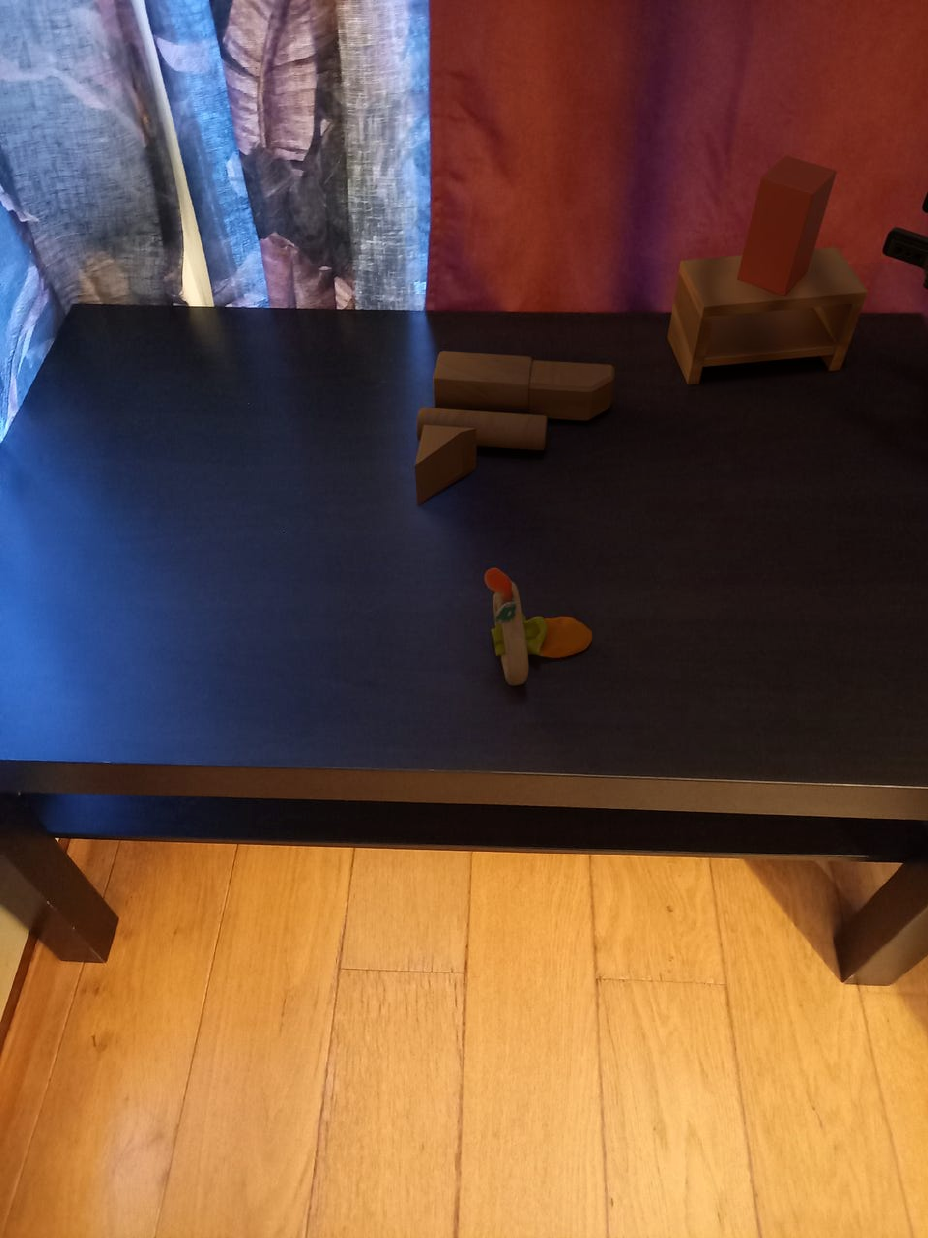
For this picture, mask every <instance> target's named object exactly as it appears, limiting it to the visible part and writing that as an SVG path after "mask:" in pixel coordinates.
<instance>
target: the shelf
mask: <svg viewBox="0 0 928 1238" xmlns="http://www.w3.org/2000/svg"><path fill="white" fill-rule="evenodd" d="M742 255H743V254H740V255H730V256H717V257H716V256H715V257H706V258H695V259H694V258H693V259H684V260H680V263H679V270H678V275H677V281H676V287H675V291H674V297H673V298H674V299H673V304H672V308H671V309H672V310H671V315H670V319H669V326H668V331H667V338H666V339H667V341H668V343H669V345H670V348H671V349H672V352H673V354H674V358H675V359H676V361H677V363H678V366H679V368H680V370H681V373H682V375H683V378H684V380H685V382H686V384H687V385H689V386H690V385H698V384H700V380H701V376H702V371H703V368H706V367H707V368H708V367H718V366H728V365H737V364H738V365H739V364H749V363H760V362H767V361H768V362H769V361H770V362H771V361H781V360H791V359H800V358H801V359H802V358H813V357H820V358H821V360H822V362H823V363H824V365H825V367H826V368H827V370H828V371H829V372H830V371H831V372H833V371H840V370H841V368H842V365H843V363H844V360H845V357H846V354H847V353H848V352H847V351H848V349H849V346H850V344H851V340H852V338H853V335H854V332H855V329H856V327H857V323H858V321H859V318H860V315H861V313H862V309H863V308H864V304H865V302H866V299H867V296H868V294H869V291H868V289H867V288H866V287H865V285H864V284H863V282H862V281H861V279H860V277H859V276H858V274H857V273H856V272H855V271H854V270H853V268H852V266H851V265H850V263H849V262H848V260H847V259H846V257H844V255H843V253H842V252H841V251H840V249H839V248H838V246H834V247H821V248H814V251H813V254H812V257H811V261H810V264H809V268H808V271H807V273H806V274H805V275H804V276H803V277H802V278H801V279H800V280H799V281H798V282H797V283H796V285H795V286H794V287H793V288H792V289H791V290H790V291H789V292H788V293H787V294H786V295H785V296H782V295H779V294H776V293H774V292H771V291H768V290H766V289H763V288H760V287H757V286H755V285H752V284H749V283H746V282H744V281H741V280H738V279H737V276H738V272H739V267H740V263H741V259H742Z"/></svg>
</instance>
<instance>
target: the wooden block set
mask: <svg viewBox="0 0 928 1238" xmlns="http://www.w3.org/2000/svg"><path fill="white" fill-rule="evenodd" d="M614 380H615V367H614V366H613V365H612V364H603V363H602V364H601V363H586V362H571V361H570V362H568V361H555V360H553V361H552V360H540V359H539V360H538V359H537V360H535V359H532V357H531V356H529V355H528V356H527V355H513V354H495V353H478V352H465V351H464V352H463V351H462V352H461V351H445V350H442V351H440V352H439V354H438V355H437V359H436V364H435V368H434V373H433V377H432V388H433V389H432V391H433V407H425V406H422V407H420V408H419V410H418V412H417V417H416V438H417V441H418V442H419V443H418V449H417V453H416V457H415V461H414V462H415V463H414V474H415V475H414V477H415V478H414V479H415V490H416V491H415V492H416V503H417V505H416V506H419V505H420V504H422V503H424V502H426V501H427V500H428V499H430V498H432V497H433V496H435V495H437V494H438V493H440V492H442V491H443V490H445V489H446V488H447V487H449V486H451V485H452V484H454V483H456V482H457V481H459V480H460V479H463V477H465V476H467V475H468V474H470V473H472V472H473V471H474V470H476V469H477V462H478V461H477V459H478V458H477V447H485V448H486V447H487V448H502V449H513V450H514V449H515V450H530V451H544V450H545V449H546V445H547V433H548V423H549V421H548V419H552V420H566V421H581V422H587V421H589V420H591V419H593V418H595V417H596V416H599V415H600V414H602V413H603V412H605V411H608V410H609V409H610V407H611V405H612V404H611V403H612V396H613V388H614Z"/></svg>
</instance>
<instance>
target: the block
mask: <svg viewBox="0 0 928 1238" xmlns="http://www.w3.org/2000/svg"><path fill="white" fill-rule="evenodd" d="M837 173H838V171H837V170H836V169H832V168H830V167H825V166H823V165H819V164H816V163H812V162H809V161H806V160H802V159H799V158H796V157H793V156H789V155H784V156H783V157H782V158H781V159H779V160H778V161H777V162H776V163H775V164H774V165H773V166H772V167H770V168H769V169H768V170H767V171H766V172H765V173H764V174H762V175H761V176H760V178H759V182H758V186H757V191H756V195H755V200H754V202H753V203H754V204H753V208H752V212H751V216H750V220H749V221H750V222H749V225H748V229H747V234H746V238H745V243H744V247H743V251H742V254H741V255H742V259H741V263H740V267H739V272H738V276H737V279H738V280H741V281H744V282H746V283H749V284H752V285H755V286H757V287H760V288H763V289H766V290H768V291H771V292H774V293H776V294H779V295H782V296H785V295H786V294H787V293H788V292H789V291H790V290H791V289H792V288H793V287H794V286H795V285H796V283H797V282H798V281H799V280H800V279H801V278H802V277H803V276H804V275H805V274H806V273H807V271H808V268H809V264H810V261H811V257H812V254H813V251H814V249H815V247H816V244H817V240H818V237H819V234H820V230H821V227H822V224H823V220H824V218H825V217H824V216H825V213H826V210H827V206H828V203H829V199H830V197H831V193H832V190H833V186H834V183H835V180H836V176H837Z"/></svg>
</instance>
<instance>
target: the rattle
mask: <svg viewBox="0 0 928 1238" xmlns="http://www.w3.org/2000/svg"><path fill="white" fill-rule="evenodd" d="M484 582H485V585H486V586H487V588H488V589H489V590H490V591H492V592H494V593H493V595H492V607H493V608H492V611H493V620H494V628H492V629H491V634H492V639H493V647H494V653H495V656H496V657H497V658H500V661H501V665H502V669H503V674H504V679H505V681H506V683H507V684H508V685H510V686H519V685H522V684H524V683H525V681H526V680H527V678H528V675H529V655H536V656H539V657H547V658H551V659H557V658H565V657H570V656H573V655H576V654H579V653H581V652H583V651H585V650H586V649H587V648H588V647H589V646H590V644H591V642H592V640H593V631H592V630H591V629H589V628H588V627H587V625H585V624H584V623H583V622H581V621H578V620H577V619H576V618H575V617H571V616H557V617H546V618H544V617H543V616H535V617H532V618H529V619H528V620H527V618H526V616H525V615H524V614H523V611H522V604H521V598H520V592H519V588H518V587H517V585H516V583H515V582H514V581H512V580H511V578H510V577H509V576H508V575H507V574H506V573H504V572H503V571H502V570H500V569H499V568H498V567H491V568H489V569H488V570H486V572H485V574H484Z"/></svg>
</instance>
